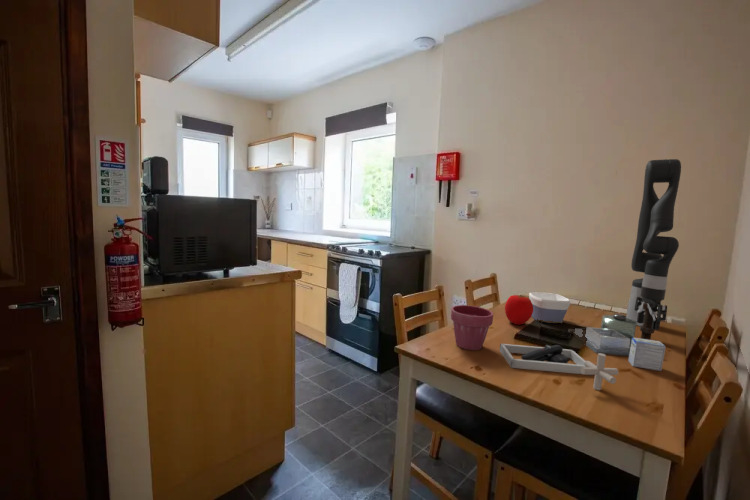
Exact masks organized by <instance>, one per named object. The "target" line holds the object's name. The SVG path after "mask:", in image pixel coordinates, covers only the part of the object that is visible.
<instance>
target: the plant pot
mask: <svg viewBox="0 0 750 500" xmlns="http://www.w3.org/2000/svg"><path fill="white" fill-rule="evenodd" d="M450 319H451V320H452V323H453V332H454V333H453V334H454V339H455V344H456V346H458V347H460V348H462V349H465V350H468V351H469V350H470V351H479V350H481V349H482V348H483V346H484V343H485V340H486V337H487V334H488V332H489V328H490V326H492V325H493V322H494V321H493V320H494V313H493V311H491V310H490V309H487V308H484V307H481V306H480V307H479V306H476V305H470V304H469V305H467V304H460V305H459V304H458V305H454V306H452V307H451V312H450Z"/></svg>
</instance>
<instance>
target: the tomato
mask: <svg viewBox="0 0 750 500" xmlns="http://www.w3.org/2000/svg"><path fill="white" fill-rule="evenodd" d="M504 312H505V316H506V318H507V320H508V322H511V323H512V324H514V325H518V326H520V325H523V324H526V323H527V322H528V321H529V320H530V319H531V318H532V314H533V304H532V302H531V300H530V298H528V297H527V296H525V295H522V294H520V295H517V294H513V295H510V296H509V297H508V298H507V300H506V302H505V305H504Z"/></svg>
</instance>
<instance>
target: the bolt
mask: <svg viewBox="0 0 750 500" xmlns="http://www.w3.org/2000/svg"><path fill="white" fill-rule="evenodd" d="M643 307H645V314H644V322H643V325H641V326H639V331H640V332H641V335H640V338H641V339H648V340H652V339H651V338H652V334H654V333H655V330H653V329H652V322H653V317H652V315H651V314H650V312H649V309H648V304H647V303H643ZM651 307H652V305H651Z"/></svg>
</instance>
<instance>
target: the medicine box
mask: <svg viewBox="0 0 750 500" xmlns="http://www.w3.org/2000/svg"><path fill="white" fill-rule="evenodd" d="M665 352H666V345H665V344H663V343H662V342H661V341H660V340H654V339H651V340H648V339H641V337H639V338H638V337H634V338H632V341H631V347H630V353H629V356H628V362H629V364H630V365H631V366H632V367H635V368H642V369H647V370H652V371H657V372H658V371H659V372H662V369H663V364H664V358H665Z"/></svg>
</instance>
